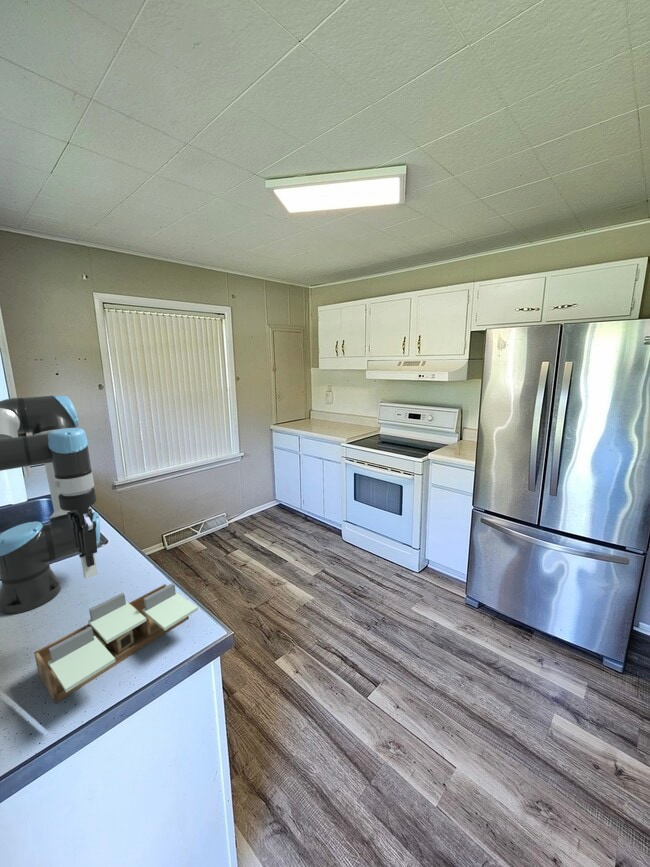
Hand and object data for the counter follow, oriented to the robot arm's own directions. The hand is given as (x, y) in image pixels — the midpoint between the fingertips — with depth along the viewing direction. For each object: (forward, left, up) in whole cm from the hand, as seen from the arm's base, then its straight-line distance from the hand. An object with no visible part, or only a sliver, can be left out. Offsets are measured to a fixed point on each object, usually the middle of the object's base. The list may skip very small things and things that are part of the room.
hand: (90, 575), depth 93 cm
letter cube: (+11, +1, -16) cm, 20 cm away
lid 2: (+10, +1, -10) cm, 14 cm away
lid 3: (+17, +11, -10) cm, 23 cm away
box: (+10, +1, -17) cm, 20 cm away
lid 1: (+17, -9, -10) cm, 22 cm away
